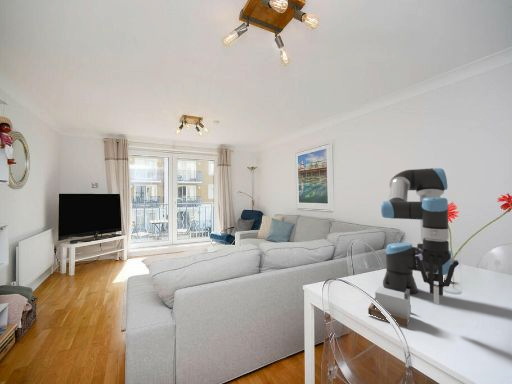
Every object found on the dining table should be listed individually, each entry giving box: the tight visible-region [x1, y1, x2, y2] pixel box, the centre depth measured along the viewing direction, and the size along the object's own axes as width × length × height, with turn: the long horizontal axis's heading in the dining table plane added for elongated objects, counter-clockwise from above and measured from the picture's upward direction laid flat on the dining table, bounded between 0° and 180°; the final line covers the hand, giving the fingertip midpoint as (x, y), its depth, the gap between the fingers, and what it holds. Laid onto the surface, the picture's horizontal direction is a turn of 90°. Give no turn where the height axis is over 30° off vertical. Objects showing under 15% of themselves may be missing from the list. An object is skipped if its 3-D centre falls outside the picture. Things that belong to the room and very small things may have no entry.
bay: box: [367, 302, 412, 328], centre depth 92 cm, size 14×13×3 cm
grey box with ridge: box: [374, 286, 411, 325], centre depth 92 cm, size 7×11×11 cm, turn 49°
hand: (436, 302), depth 83 cm, fingers closed
